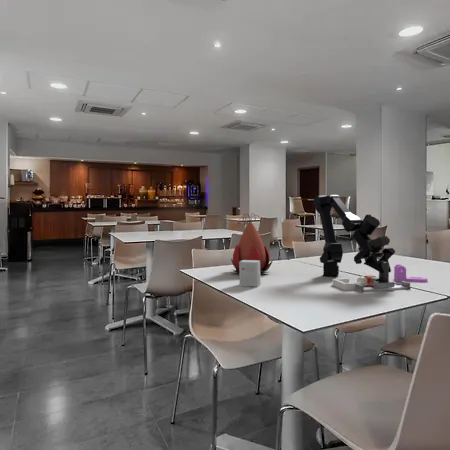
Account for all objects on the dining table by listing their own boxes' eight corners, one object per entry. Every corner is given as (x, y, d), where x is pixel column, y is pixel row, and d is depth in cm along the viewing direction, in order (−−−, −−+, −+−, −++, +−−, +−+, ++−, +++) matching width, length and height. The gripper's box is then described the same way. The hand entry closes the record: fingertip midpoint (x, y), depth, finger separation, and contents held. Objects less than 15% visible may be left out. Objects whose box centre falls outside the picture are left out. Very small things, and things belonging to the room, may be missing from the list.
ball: (356, 286, 155) (356, 277, 155) (357, 284, 159) (357, 275, 159) (366, 287, 154) (366, 277, 153) (367, 285, 157) (367, 276, 157)
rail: (404, 286, 154) (404, 281, 154) (410, 288, 150) (410, 282, 150) (355, 290, 149) (355, 284, 149) (360, 292, 146) (360, 285, 146)
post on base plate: (377, 283, 159) (378, 258, 159) (394, 289, 149) (394, 262, 148) (362, 284, 158) (363, 258, 157) (378, 290, 147) (378, 262, 147)
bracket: (397, 281, 165) (397, 265, 165) (394, 279, 170) (394, 264, 170) (429, 282, 162) (429, 266, 162) (425, 280, 168) (425, 264, 167)
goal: (347, 284, 160) (347, 278, 160) (361, 289, 150) (361, 283, 150) (332, 285, 159) (332, 279, 159) (344, 290, 149) (344, 284, 149)
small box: (260, 284, 161) (260, 260, 161) (257, 287, 156) (257, 262, 155) (242, 283, 164) (242, 259, 163) (239, 286, 158) (238, 261, 158)
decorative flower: (239, 268, 204) (238, 212, 202) (279, 270, 194) (279, 212, 192) (221, 275, 184) (220, 213, 183) (265, 278, 174) (265, 214, 173)
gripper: (359, 230, 148) (382, 261, 138) (391, 228, 156) (415, 257, 147) (344, 248, 155) (365, 279, 146) (375, 245, 164) (397, 274, 155)
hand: (386, 272), depth 148 cm, fingers closed on post on base plate, 4 cm apart
